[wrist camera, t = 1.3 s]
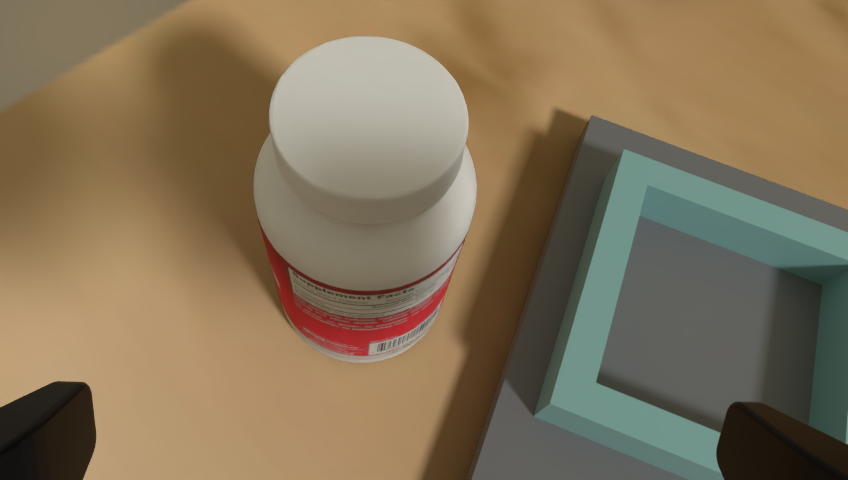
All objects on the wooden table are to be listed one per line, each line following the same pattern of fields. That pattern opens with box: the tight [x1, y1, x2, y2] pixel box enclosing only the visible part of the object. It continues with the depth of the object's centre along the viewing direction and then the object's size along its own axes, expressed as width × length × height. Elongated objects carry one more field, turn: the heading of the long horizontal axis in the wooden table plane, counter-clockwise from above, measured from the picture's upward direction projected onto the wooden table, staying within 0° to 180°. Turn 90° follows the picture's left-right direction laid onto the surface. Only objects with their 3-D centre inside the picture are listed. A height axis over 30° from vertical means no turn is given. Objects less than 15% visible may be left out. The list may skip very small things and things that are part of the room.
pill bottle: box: [253, 36, 477, 363], centre depth 20 cm, size 6×6×11 cm
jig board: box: [466, 115, 848, 480], centre depth 23 cm, size 20×13×4 cm, turn 159°
